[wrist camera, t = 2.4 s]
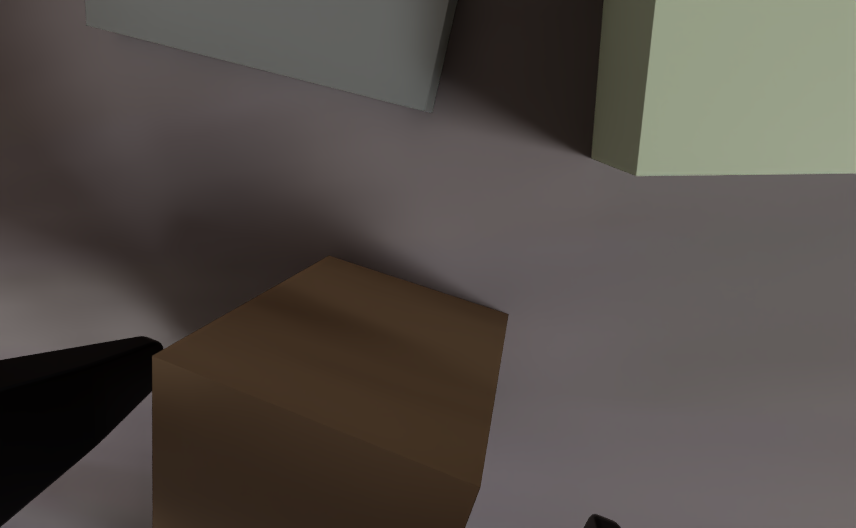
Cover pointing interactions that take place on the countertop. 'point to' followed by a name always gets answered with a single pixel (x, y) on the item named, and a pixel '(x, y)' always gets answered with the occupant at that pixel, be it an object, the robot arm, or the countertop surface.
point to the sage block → (727, 87)
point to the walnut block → (327, 407)
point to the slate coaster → (303, 39)
